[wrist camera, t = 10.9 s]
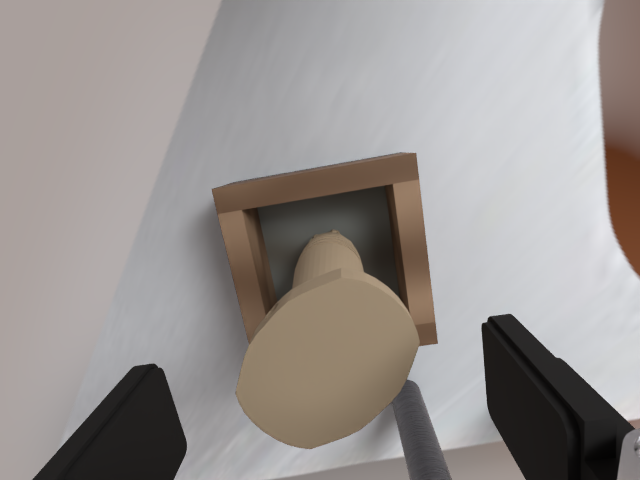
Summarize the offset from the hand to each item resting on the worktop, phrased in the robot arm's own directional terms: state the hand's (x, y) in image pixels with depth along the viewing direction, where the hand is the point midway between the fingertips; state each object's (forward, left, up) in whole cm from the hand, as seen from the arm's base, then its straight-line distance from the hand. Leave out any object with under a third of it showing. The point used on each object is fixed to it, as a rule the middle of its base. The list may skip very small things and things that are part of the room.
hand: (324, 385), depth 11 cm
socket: (+1, 0, -17) cm, 17 cm away
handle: (0, 0, -17) cm, 17 cm away
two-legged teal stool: (+11, +9, -17) cm, 23 cm away
